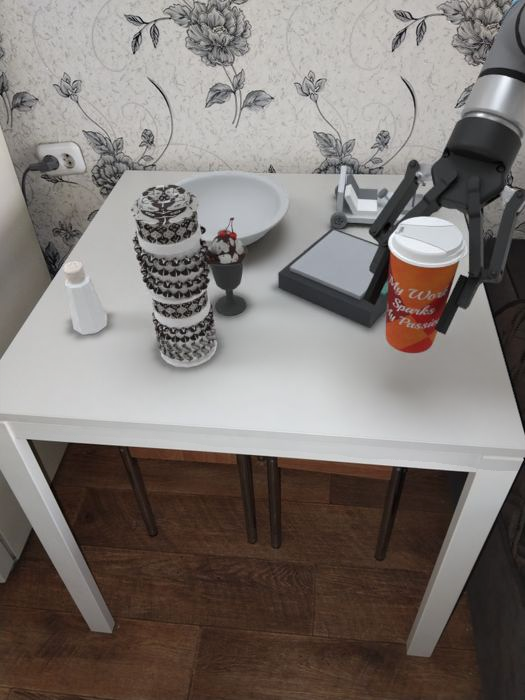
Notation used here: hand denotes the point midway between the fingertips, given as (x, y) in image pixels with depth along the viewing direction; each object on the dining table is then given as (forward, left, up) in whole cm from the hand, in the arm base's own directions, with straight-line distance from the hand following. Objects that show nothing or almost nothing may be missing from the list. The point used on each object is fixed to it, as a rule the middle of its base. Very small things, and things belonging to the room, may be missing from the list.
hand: (403, 316), depth 68 cm
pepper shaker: (+45, +13, -15) cm, 49 cm away
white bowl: (+44, -18, -15) cm, 50 cm away
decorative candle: (+29, +8, -15) cm, 34 cm away
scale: (+18, -19, -15) cm, 30 cm away
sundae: (+30, -3, -15) cm, 34 cm away
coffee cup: (0, -3, -6) cm, 7 cm away
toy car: (+24, -40, -15) cm, 49 cm away
